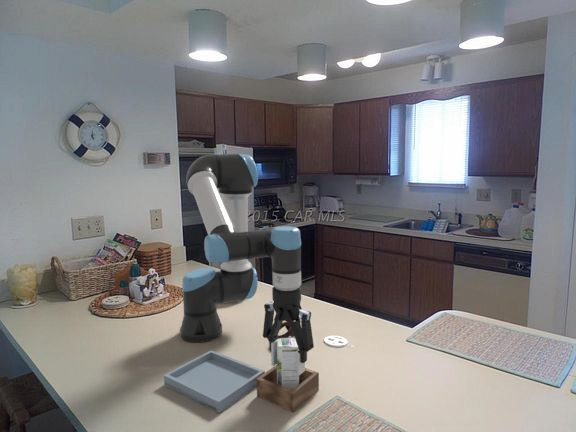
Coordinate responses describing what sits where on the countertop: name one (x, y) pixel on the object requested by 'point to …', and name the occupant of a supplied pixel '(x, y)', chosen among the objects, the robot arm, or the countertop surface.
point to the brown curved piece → (289, 332)
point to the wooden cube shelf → (285, 396)
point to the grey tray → (213, 380)
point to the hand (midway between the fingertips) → (287, 368)
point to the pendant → (336, 341)
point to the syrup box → (287, 363)
